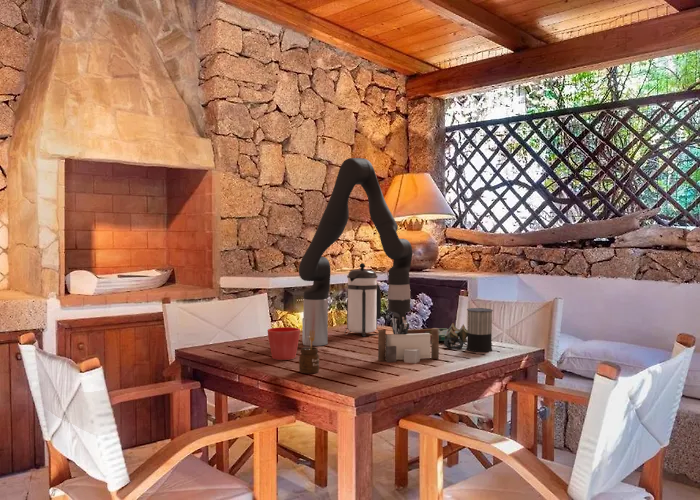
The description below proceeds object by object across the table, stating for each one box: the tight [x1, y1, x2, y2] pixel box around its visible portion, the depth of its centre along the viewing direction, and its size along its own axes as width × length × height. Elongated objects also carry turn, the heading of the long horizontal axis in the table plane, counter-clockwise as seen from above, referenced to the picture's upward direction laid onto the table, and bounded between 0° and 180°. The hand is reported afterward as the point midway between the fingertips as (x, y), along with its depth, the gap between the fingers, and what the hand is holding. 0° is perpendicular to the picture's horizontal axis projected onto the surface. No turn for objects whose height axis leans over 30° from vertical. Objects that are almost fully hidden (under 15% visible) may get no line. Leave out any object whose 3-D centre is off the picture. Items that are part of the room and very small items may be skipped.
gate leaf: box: [386, 333, 431, 361], centre depth 201 cm, size 15×2×8 cm, turn 103°
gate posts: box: [377, 327, 440, 363], centre depth 200 cm, size 21×4×10 cm, turn 103°
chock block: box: [403, 348, 421, 364], centre depth 198 cm, size 4×4×4 cm
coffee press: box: [343, 262, 382, 338], centre depth 256 cm, size 17×16×30 cm
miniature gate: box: [407, 322, 468, 344], centre depth 244 cm, size 27×6×30 cm
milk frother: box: [443, 307, 494, 353], centre depth 221 cm, size 14×16×15 cm
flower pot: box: [267, 326, 301, 361], centre depth 203 cm, size 11×11×10 cm
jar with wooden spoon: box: [298, 330, 320, 375], centre depth 182 cm, size 6×6×12 cm
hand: (400, 348), depth 205 cm, fingers closed
